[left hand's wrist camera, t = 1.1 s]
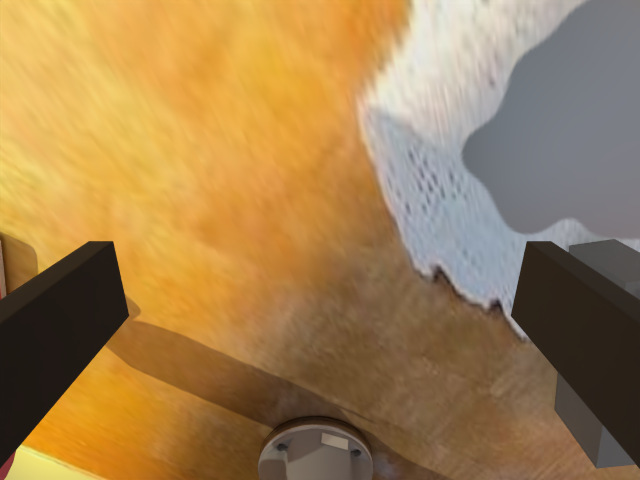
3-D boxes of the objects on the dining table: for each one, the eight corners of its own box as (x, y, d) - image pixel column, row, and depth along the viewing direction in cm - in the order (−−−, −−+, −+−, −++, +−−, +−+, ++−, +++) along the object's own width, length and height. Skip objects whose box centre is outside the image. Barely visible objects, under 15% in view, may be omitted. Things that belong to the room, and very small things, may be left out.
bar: (591, 405, 48) (640, 464, 41) (554, 409, 49) (596, 468, 41) (614, 238, 40) (682, 274, 32) (569, 245, 40) (625, 282, 33)
